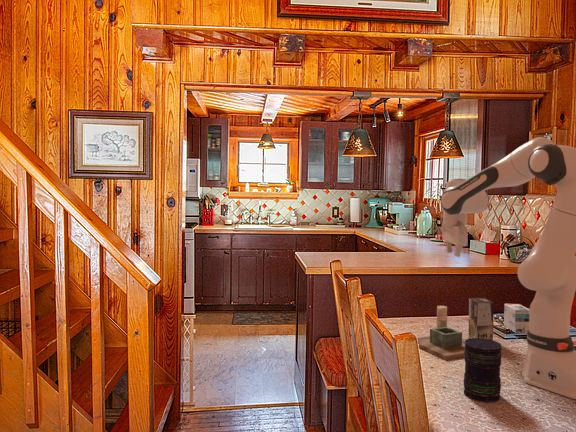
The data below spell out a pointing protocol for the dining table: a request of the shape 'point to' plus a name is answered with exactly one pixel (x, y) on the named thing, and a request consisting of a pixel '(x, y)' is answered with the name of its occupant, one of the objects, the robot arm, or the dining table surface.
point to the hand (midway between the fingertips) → (453, 254)
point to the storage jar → (482, 369)
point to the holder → (443, 343)
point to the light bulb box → (516, 318)
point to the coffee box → (481, 318)
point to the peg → (441, 316)
